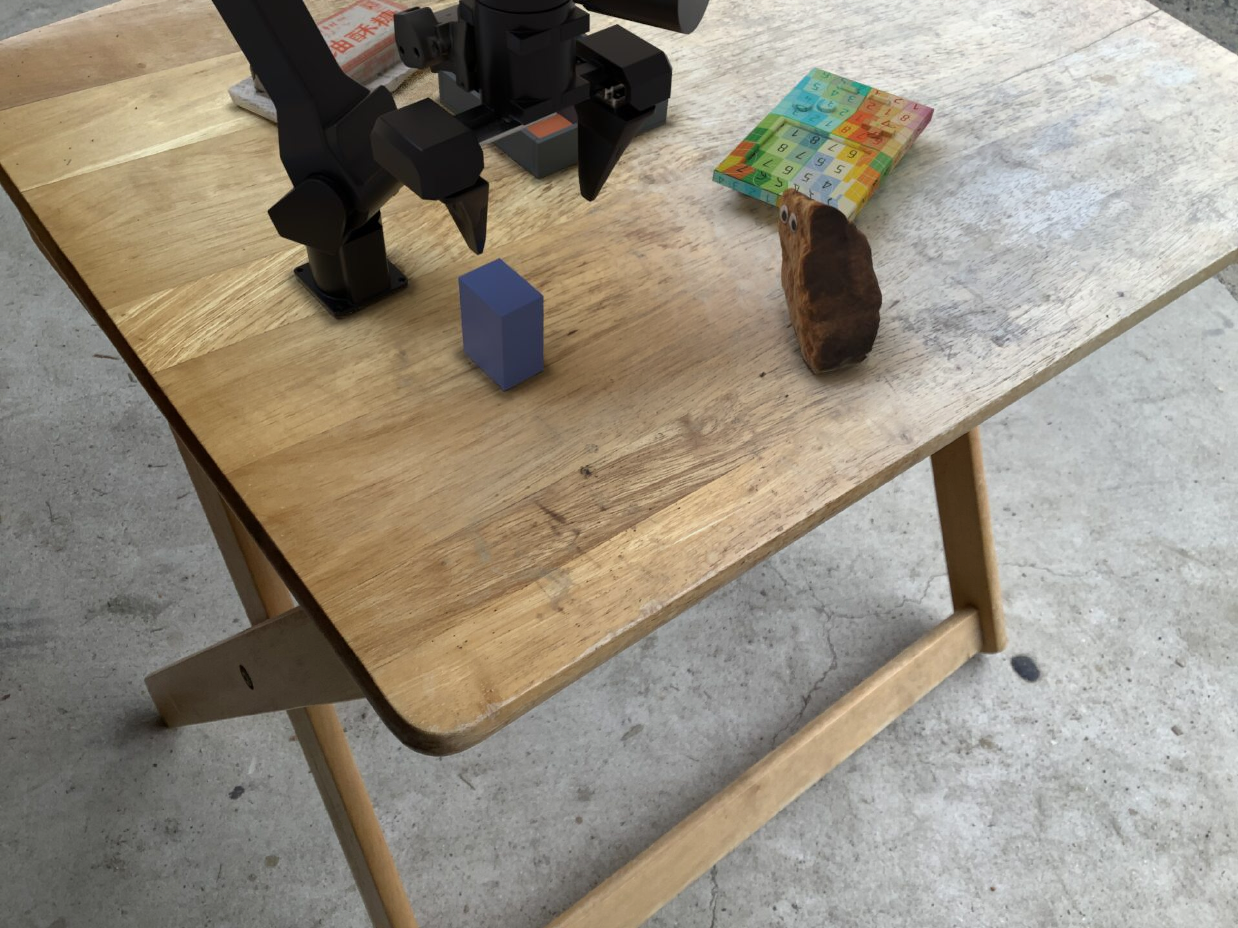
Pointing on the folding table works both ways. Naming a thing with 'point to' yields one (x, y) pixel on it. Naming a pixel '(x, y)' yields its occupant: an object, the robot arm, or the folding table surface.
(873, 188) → the puzzle game
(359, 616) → the folding table surface
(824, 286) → the decorative rock
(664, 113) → the organiser
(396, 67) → the packaged product
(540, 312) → the carton
